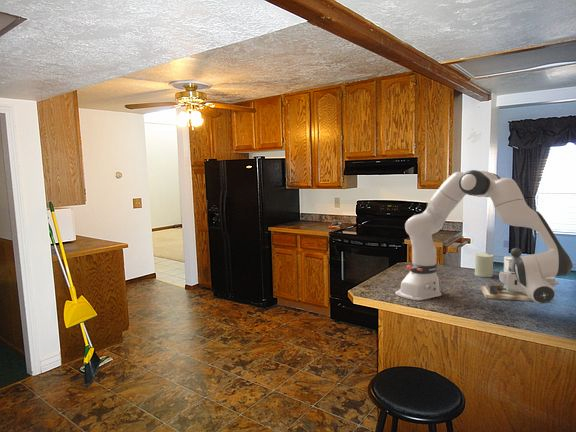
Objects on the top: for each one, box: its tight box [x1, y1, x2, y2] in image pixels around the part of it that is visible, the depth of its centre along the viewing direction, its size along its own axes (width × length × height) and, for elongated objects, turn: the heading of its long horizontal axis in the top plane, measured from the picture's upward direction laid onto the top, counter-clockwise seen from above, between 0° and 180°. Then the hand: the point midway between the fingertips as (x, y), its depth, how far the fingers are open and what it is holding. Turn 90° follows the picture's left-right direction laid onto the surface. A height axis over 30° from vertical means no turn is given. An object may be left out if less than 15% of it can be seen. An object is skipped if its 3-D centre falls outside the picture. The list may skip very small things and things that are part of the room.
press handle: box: [503, 247, 522, 292], centre depth 184 cm, size 6×8×20 cm
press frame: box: [480, 279, 534, 302], centre depth 185 cm, size 26×14×6 cm, turn 73°
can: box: [474, 252, 494, 278], centre depth 220 cm, size 9×9×12 cm
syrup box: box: [503, 255, 512, 272], centre depth 200 cm, size 6×6×14 cm
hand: (521, 273), depth 172 cm, fingers open, 8 cm apart
